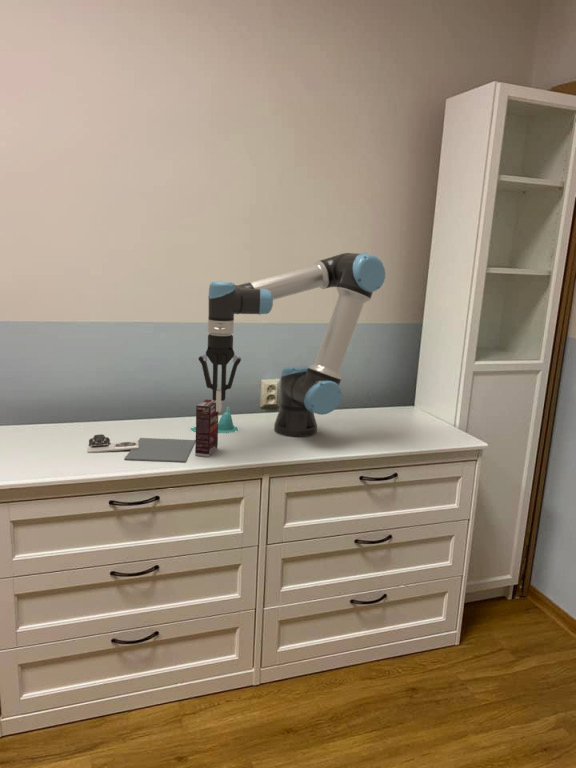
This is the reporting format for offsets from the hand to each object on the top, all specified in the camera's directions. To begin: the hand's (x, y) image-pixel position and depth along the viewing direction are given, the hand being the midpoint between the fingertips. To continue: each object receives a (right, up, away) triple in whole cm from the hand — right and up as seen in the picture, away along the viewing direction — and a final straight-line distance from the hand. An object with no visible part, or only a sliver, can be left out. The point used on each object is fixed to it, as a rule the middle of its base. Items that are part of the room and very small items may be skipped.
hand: (218, 410), depth 185 cm
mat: (-18, -12, +3) cm, 22 cm away
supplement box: (-4, -13, +3) cm, 14 cm away
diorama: (-5, -8, +28) cm, 29 cm away
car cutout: (-33, -12, +3) cm, 35 cm away
